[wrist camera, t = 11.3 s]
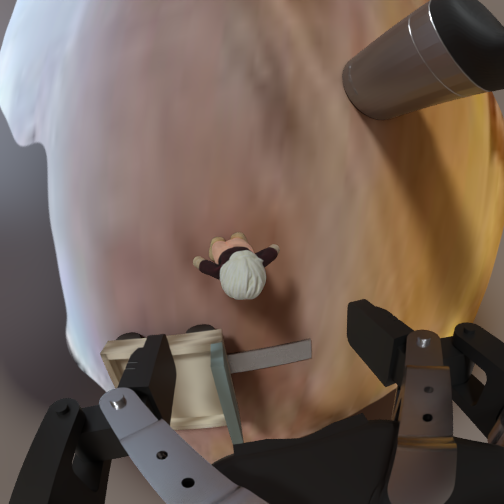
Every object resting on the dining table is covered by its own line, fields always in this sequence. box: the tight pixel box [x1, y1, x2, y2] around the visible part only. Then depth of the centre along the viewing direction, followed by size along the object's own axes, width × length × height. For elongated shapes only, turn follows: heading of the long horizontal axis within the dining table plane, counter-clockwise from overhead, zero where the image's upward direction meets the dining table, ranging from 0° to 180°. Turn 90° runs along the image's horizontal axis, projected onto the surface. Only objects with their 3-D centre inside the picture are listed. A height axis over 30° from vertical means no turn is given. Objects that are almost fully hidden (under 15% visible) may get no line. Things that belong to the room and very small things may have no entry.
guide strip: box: [227, 339, 311, 373], centre depth 33 cm, size 26×3×1 cm, turn 97°
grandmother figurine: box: [193, 232, 280, 300], centre depth 24 cm, size 8×4×13 cm, turn 110°
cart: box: [100, 324, 244, 444], centre depth 29 cm, size 14×13×9 cm
